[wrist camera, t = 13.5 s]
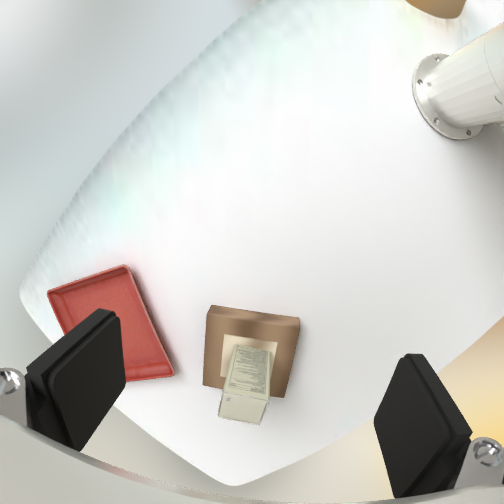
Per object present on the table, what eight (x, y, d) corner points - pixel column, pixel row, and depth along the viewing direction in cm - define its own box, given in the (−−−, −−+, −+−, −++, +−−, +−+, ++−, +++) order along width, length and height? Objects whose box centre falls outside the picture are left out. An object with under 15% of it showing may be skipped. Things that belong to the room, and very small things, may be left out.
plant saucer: (55, 285, 45) (43, 292, 41) (136, 256, 42) (125, 263, 39) (99, 375, 48) (91, 385, 45) (183, 364, 45) (176, 376, 42)
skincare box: (228, 368, 41) (214, 417, 31) (234, 342, 39) (220, 389, 30) (265, 376, 40) (260, 427, 31) (273, 351, 39) (269, 400, 30)
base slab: (299, 317, 41) (300, 328, 38) (284, 385, 44) (284, 398, 41) (211, 304, 42) (206, 314, 39) (206, 373, 45) (202, 385, 42)
